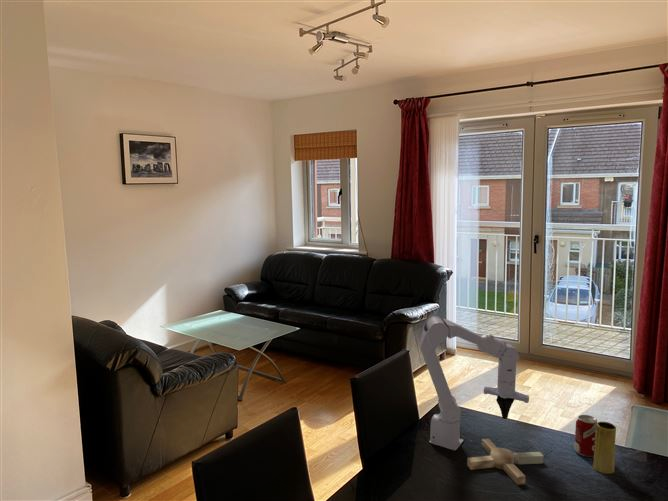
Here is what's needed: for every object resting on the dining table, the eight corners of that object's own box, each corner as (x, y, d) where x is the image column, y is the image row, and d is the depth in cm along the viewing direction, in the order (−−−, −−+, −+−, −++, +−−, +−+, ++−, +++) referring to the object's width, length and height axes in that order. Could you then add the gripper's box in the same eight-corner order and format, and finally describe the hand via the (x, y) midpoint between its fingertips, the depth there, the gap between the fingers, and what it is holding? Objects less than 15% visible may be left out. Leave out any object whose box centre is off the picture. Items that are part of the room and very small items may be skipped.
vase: (617, 475, 151) (620, 431, 149) (595, 473, 152) (598, 429, 150) (610, 464, 157) (613, 421, 155) (589, 462, 158) (592, 419, 156)
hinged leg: (514, 464, 157) (515, 456, 157) (511, 460, 160) (511, 452, 159) (543, 463, 158) (543, 455, 157) (539, 459, 160) (539, 451, 160)
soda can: (574, 456, 162) (577, 421, 160) (573, 446, 168) (575, 412, 167) (598, 460, 159) (600, 425, 158) (595, 450, 166) (598, 415, 164)
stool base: (486, 488, 145) (486, 477, 144) (454, 449, 166) (454, 439, 166) (532, 483, 147) (532, 472, 147) (494, 444, 169) (494, 435, 169)
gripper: (481, 379, 167) (480, 417, 169) (526, 388, 160) (524, 427, 161) (487, 372, 173) (486, 409, 175) (531, 380, 166) (529, 419, 167)
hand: (505, 417), depth 169 cm, fingers closed
